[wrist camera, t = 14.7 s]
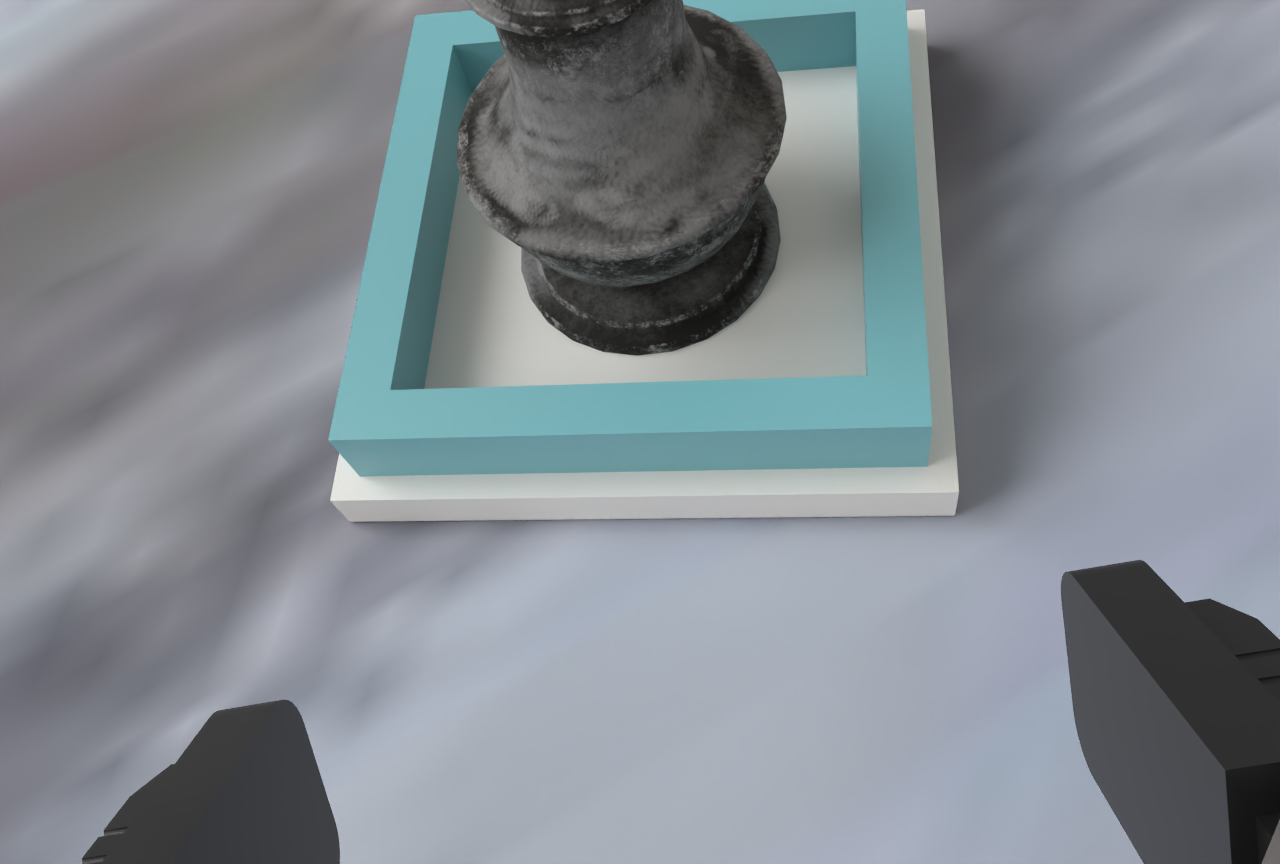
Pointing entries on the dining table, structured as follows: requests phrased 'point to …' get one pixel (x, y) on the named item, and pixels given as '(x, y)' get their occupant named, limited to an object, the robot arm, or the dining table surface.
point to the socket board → (685, 378)
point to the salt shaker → (628, 166)
